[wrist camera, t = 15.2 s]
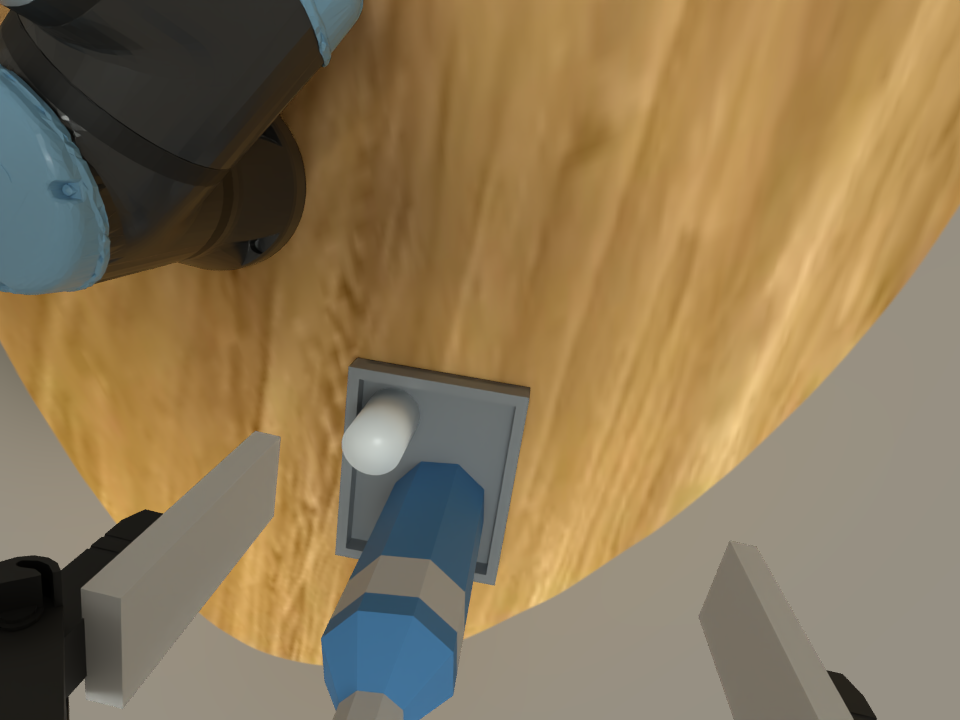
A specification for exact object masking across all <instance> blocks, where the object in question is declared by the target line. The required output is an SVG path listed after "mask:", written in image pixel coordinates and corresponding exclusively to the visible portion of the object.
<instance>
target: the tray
mask: <svg viewBox="0 0 960 720" xmlns="http://www.w3.org/2000/svg"><path fill="white" fill-rule="evenodd" d="M386 388H396V389H400V390H403V391H405V392H407V393H408V394H409V395H411V396H412V397H413V398H414V400H415V401H416V403H417V405H418V407H419V410H420V420H419V423H418V426H417V428H416V430H415V432H414V434H413V436H412V438H411V440H410V442H409V444H408V446H407V448H406V450H405V452H404V454H403V456H402V458H401V460H400V461H399V463H398V465H397V466H396V467H395V468H394V469H393V470H392V471H390V472H388V473H386V474H382V475H369V474H365V473H362V472H360V471H358V470H357V469H355V468H354V467H353V466H351V464H350V463H349V462H348V461H347V459H346V458H345V456H344V453H343V454H342V468H341V482H340V496H339V510H338V524H337V538H336V552H335V555H340V556H345V557H350V558H355V559H359V558H360V556H361V554H362V552H363V550H364V548H365V546H366V544H367V541H368V539H369V537H370V535H371V533H372V531H373V529H374V527H375V525H376V523H377V521H378V518H379V516H380V514H381V512H382V510H383V508H384V506H385V504H386V502H387V500H388V498H389V495H390V493H391V491H392V489H393V487H394V485H395V483H396V482H397V481H398V480H399V479H401V478H402V477H403V476H404V475H405V474H407V473H408V472H409V471H410V470H411V469H413V468H414V467H415V466H416V465H417V464H418V463H420V462H421V461H423V462H437V463H451V464H459V465H460V466H461V467H462V468H463V469H464V470H465V471H466V472H467V473H468V474H469V475H470V476H471V477H472V478H473V479H474V480H475V481H476V482H477V483H478V484H479V485H480V486H481V487H482V488H483V489H484V522H483V528H482V533H481V539H480V545H479V550H478V556H477V562H476V568H475V573H474V579H473V581H474V582H479V583H484V584H490V585H495V581H496V575H497V570H498V565H499V559H500V554H501V549H502V543H503V538H504V532H505V527H506V522H507V516H508V511H509V506H510V500H511V495H512V489H513V484H514V479H515V473H516V468H517V462H518V457H519V452H520V446H521V441H522V436H523V430H524V425H525V419H526V414H527V409H528V403H529V397H530V388H529V387H524V386H518V385H512V384H506V383H500V382H495V381H489V380H483V379H477V378H472V377H466V376H460V375H454V374H448V373H443V372H437V371H431V370H425V369H420V368H414V367H408V366H402V365H396V364H391V363H385V362H379V361H373V360H368V359H362V358H357V359H356V360H355V361H354V362H353V363H352V364H351V365H350V366H349V371H348V385H347V398H346V412H345V426H344V433H345V431H346V430H347V429H348V427H349V426H350V425H351V423H352V422H353V421H354V419H355V418H356V417H357V416H358V414H359V413H360V412H361V410H362V409H363V408H364V406H365V405H366V404H367V402H368V401H369V400H370V399H371V397H372V396H373V395H374V394H375V393H376V392H378V391H380V390H382V389H386Z"/></svg>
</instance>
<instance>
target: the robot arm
mask: <svg viewBox="0 0 960 720" xmlns="http://www.w3.org/2000/svg"><path fill="white" fill-rule="evenodd" d="M0 4H2V5H4V6H5V7H7V8H9V9H11V10H10V11H9V13H8V14H7V16H6V17H5V19H4V21H3V22H2V24H1V25H0V291H2V292H11V293H14V294H24V295H38V294H47V293H55V292H63V291H67V292H71V291H78V290H82V289H86V288H87V287H91V286H92V285H93V284H96V283H100V282H103V281H107V280H111V279H115V278H119V277H123V276H126V275H130V274H134V273H138V272H142V271H146V270H149V269H153V268H157V267H161V266H165V265H168V264H172V263H176V262H179V263H183V264H186V265H190V266H194V267H198V268H202V269H207V270H234V269H239V268H243V267H246V266H250V265H253V264H256V263H258V262H261V261H263V260H265V259H267V258H269V257H271V256H272V255H274V254H275V253H276V252H278V251H279V250H280V249H281V248H282V247H283V246H284V245H285V244H286V243H287V242H288V240H289V239H290V238H291V236H292V235H293V233H294V231H295V230H296V228H297V226H298V224H299V221H300V218H301V215H302V212H303V208H304V203H305V194H306V181H305V172H304V166H303V162H302V158H301V155H300V152H299V149H298V147H297V144H296V142H295V140H294V138H293V136H292V134H291V132H290V130H289V129H288V127H287V126H286V124H285V123H284V121H283V120H282V119H281V118H280V116H279V114H280V113H281V112H282V111H283V109H284V108H285V107H286V106H287V105H288V104H289V102H290V101H291V100H292V99H293V98H294V97H295V96H296V94H297V93H298V92H299V91H300V90H301V89H302V87H303V86H304V85H305V84H306V83H307V82H308V81H309V79H310V78H311V77H312V76H313V75H314V74H315V72H316V71H317V70H318V69H319V68H320V67H321V66H322V67H326V66H327V65H328V64H329V62H330V59H331V53H332V52H333V51H334V50H335V48H336V47H337V46H338V44H339V43H340V42H341V41H342V39H343V38H344V37H345V35H346V34H347V33H348V32H349V30H350V29H351V28H352V27H353V25H354V24H355V23H356V21H357V20H358V18H359V16H360V14H361V12H362V8H363V0H0ZM280 439H281V437H280V436H275V435H271V434H267V433H262V432H258V431H255V432H254V433H252V434H251V435H250V436H249V437H248V438H247V439H246V440H245V441H244V442H242V443H241V444H240V445H239V446H238V447H237V448H236V449H235V450H234V451H232V452H231V453H230V454H229V455H228V456H227V457H226V458H225V459H224V460H223V461H221V462H220V463H219V464H218V465H217V466H216V467H215V468H214V469H213V470H211V471H210V472H209V473H208V474H207V475H206V476H205V477H204V478H203V479H201V480H200V481H199V482H198V483H197V484H196V485H195V486H194V487H193V488H192V489H190V490H189V491H188V492H187V493H186V494H185V495H184V496H183V497H182V498H180V499H179V500H178V501H177V502H176V503H175V504H174V505H173V506H172V507H170V508H169V509H168V510H167V511H166V512H165V513H164V514H162V513H158V512H154V511H150V510H146V509H145V510H143V511H141V512H138V513H136V514H134V515H132V516H129V517H127V518H125V519H123V520H121V521H120V522H119V523H118V524H116V525H115V526H114V527H113V528H112V529H110V530H109V531H108V532H107V533H106V534H105V536H104V537H101V538H100V539H98V540H97V541H96V542H95V543H94V544H92V545H91V548H90V549H86V550H85V551H84V552H83V553H82V554H80V555H79V556H78V557H77V558H76V559H74V560H73V561H72V562H71V563H69V564H68V565H67V566H66V567H65V568H63V569H62V570H60V568H59V565H58V563H57V562H55V561H53V560H52V559H50V558H47V557H41V556H23V557H16V558H12V559H8V560H5V561H1V562H0V720H69V697H68V696H69V695H70V694H71V693H72V692H73V690H74V689H75V688H76V687H77V686H78V685H79V684H80V683H81V682H82V681H83V679H84V678H85V689H86V690H85V692H86V700H90V701H94V702H98V703H102V704H106V705H110V706H114V707H118V708H122V709H123V708H124V707H125V705H126V704H127V703H128V702H129V700H130V699H131V698H132V696H133V695H134V694H135V693H136V691H137V690H138V688H139V687H140V686H141V685H142V684H143V682H144V681H145V680H146V679H147V677H148V676H149V675H150V673H151V672H152V671H153V670H154V668H155V667H156V666H157V665H158V663H159V662H160V661H161V659H162V658H163V657H164V655H165V654H166V653H167V652H168V650H169V649H170V648H171V646H172V645H173V644H174V643H175V642H176V640H177V639H178V637H179V636H180V635H181V634H182V633H183V631H184V630H185V629H186V627H187V626H188V625H189V624H190V622H191V621H192V620H193V619H194V617H195V616H196V614H197V613H198V612H199V611H200V610H201V608H202V607H203V606H204V604H205V603H206V602H207V601H208V599H209V598H210V597H211V596H212V594H213V593H214V592H215V590H216V589H217V588H218V587H219V585H220V584H221V583H222V581H223V580H224V579H225V578H226V576H227V575H228V574H229V573H230V571H231V570H232V569H233V567H234V566H235V565H236V564H237V562H238V561H239V560H240V558H241V557H242V556H243V555H244V553H245V552H246V551H247V550H248V548H249V547H250V546H251V544H252V543H253V542H254V541H255V539H256V538H257V537H258V535H259V534H260V533H261V532H262V530H263V529H264V528H265V527H266V525H267V524H268V523H269V521H270V520H271V519H272V518H273V516H274V506H275V495H276V484H277V473H278V461H279V450H280ZM699 619H700V622H701V625H702V628H703V631H704V634H705V637H706V640H707V643H708V646H709V648H710V651H711V654H712V657H713V660H714V663H715V666H716V669H717V672H718V675H719V678H720V681H721V683H722V686H723V689H724V692H725V695H726V698H727V701H728V704H729V707H730V709H731V713H732V715H733V719H734V720H877V718H876V716H875V714H874V713H873V711H872V709H871V708H870V706H869V704H868V703H867V701H866V699H865V698H864V696H863V695H862V694H861V693H860V692H859V691H858V690H857V689H856V688H855V687H854V685H852V684H851V682H850V681H849V680H848V679H846V677H845V676H844V675H843V674H840V673H836V672H832V671H827V670H826V669H825V667H824V666H823V664H822V662H821V660H820V658H819V657H818V655H817V653H816V651H815V650H814V648H813V646H812V644H811V642H810V641H809V639H808V637H807V635H806V634H805V632H804V630H803V628H802V626H801V625H800V623H799V621H798V619H797V618H796V616H795V614H794V612H793V610H792V609H791V607H790V605H789V603H788V601H787V600H786V598H785V596H784V594H783V593H782V591H781V589H780V587H779V586H778V584H777V582H776V580H775V578H774V577H773V575H772V573H771V571H770V569H769V568H768V566H767V564H766V562H765V560H764V559H763V557H762V555H761V553H760V551H759V550H758V548H757V547H756V546H752V545H747V544H743V543H738V542H734V541H729V544H728V546H727V549H726V551H725V553H724V556H723V558H722V561H721V563H720V566H719V568H718V570H717V573H716V575H715V578H714V580H713V583H712V585H711V588H710V590H709V593H708V595H707V598H706V600H705V602H704V605H703V607H702V610H701V612H700V614H699Z"/></svg>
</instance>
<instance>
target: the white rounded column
mask: <svg viewBox="0 0 960 720" xmlns="http://www.w3.org/2000/svg"><path fill="white" fill-rule="evenodd" d="M419 420H420V410H419V407H418V405H417V403H416V401H415V400H414V398H413V397H412V396H411V395H409V394H408V393H407V392H405V391H403V390H400V389H396V388H386V389H382V390H380V391H378V392H376V393H375V394H374V395H373V396H372V397H371V399H370V400H369V401H368V402H367V404H366V405H365V406H364V408H363V409H362V410H361V412H360V413H359V414H358V416H357V417H356V418H355V419H354V421H353V422H352V423H351V425H350V426H349V427H348V429H347V430H346V431H345V433H344V435H343V439H342V450H343V453H344V456H345V458H346V459H347V461H348V462H349V463H350V464H351V466H353V467H354V468H355V469H357V470H358V471H360V472H362V473H365V474H369V475H382V474H386V473H388V472H390V471H392V470H393V469H394V468H395V467H396V466H397V465H398V463H399V461H400V460H401V458H402V456H403V454H404V452H405V450H406V448H407V446H408V444H409V442H410V440H411V438H412V436H413V434H414V432H415V430H416V428H417V426H418V423H419Z"/></svg>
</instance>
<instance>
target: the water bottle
mask: <svg viewBox="0 0 960 720" xmlns="http://www.w3.org/2000/svg"><path fill="white" fill-rule="evenodd" d="M483 522H484V489H483V488H482V487H481V486H480V485H479V484H478V483H477V482H476V481H475V480H474V479H473V478H472V477H471V476H470V475H469V474H468V473H467V472H466V471H465V470H464V469H463V468H462V467H461V466H460V465H459V464H451V463H437V462H423V461H421V462H420V463H418V464H417V465H416V466H415V467H414V468H413V469H411V470H410V471H409V472H408V473H407V474H405V475H404V476H403V477H402V478H401V479H399V480H398V481H397V482H396V483H395V485H394V487H393V489H392V491H391V493H390V495H389V498H388V500H387V502H386V504H385V506H384V508H383V510H382V512H381V514H380V516H379V518H378V521H377V523H376V525H375V527H374V529H373V531H372V533H371V535H370V537H369V539H368V541H367V544H366V546H365V548H364V550H363V552H362V554H361V556H360V558H359V560H358V562H357V564H356V567H355V569H354V571H353V573H352V575H351V577H350V579H349V581H348V583H347V585H346V588H345V590H344V592H343V594H342V596H341V598H340V600H339V602H338V604H337V606H336V608H335V611H334V613H333V615H332V617H331V619H330V621H329V623H328V625H327V627H326V629H325V631H324V634H323V636H322V638H321V642H322V655H323V667H324V679H325V683H326V686H327V688H328V691H329V694H330V696H331V699H332V702H333V704H334V707H335V709H336V713H335V715H334V718H333V720H419V719H421V718H422V717H424V716H425V715H427V714H428V713H429V712H431V711H432V710H433V709H435V708H436V707H438V706H439V705H441V704H442V703H443V702H445V701H446V700H447V699H449V698H450V697H452V696H453V693H454V687H455V682H456V676H457V670H458V664H459V658H460V653H461V647H462V642H463V636H464V630H465V625H466V619H467V613H468V607H469V602H470V596H471V590H472V585H473V579H474V573H475V568H476V562H477V556H478V550H479V545H480V539H481V533H482V528H483Z"/></svg>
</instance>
